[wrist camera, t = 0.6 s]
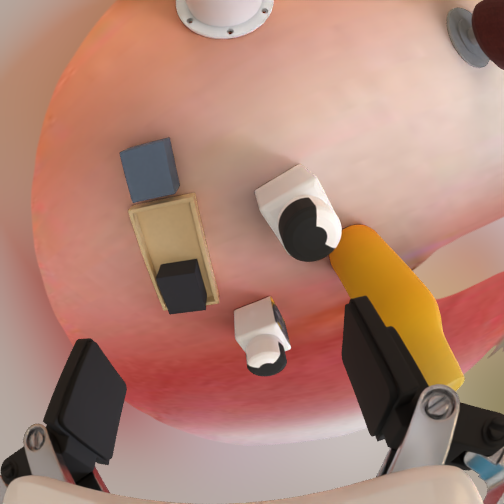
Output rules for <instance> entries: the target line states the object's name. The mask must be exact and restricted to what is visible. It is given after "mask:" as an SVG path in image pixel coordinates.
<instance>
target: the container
mask: <svg viewBox="0 0 504 504" xmlns="http://www.w3.org/2000/svg"><path fill="white" fill-rule="evenodd" d="M255 196H256V199H257V203H258V206H259V210H260V212H261V214H262V215H263V217H264V218H265V220H266V221H267V223H268V224H269V226H270V227H271V229H272V230H273V232H274V233H275V235H276V236H277V238H278V239H279V241H280V242H281V244H282V245H283V247H284V249H285V250H286V252H287V253H288V254H289V255H290V256H292V257H293V258H295V259H297V260H300V261H305V262H312V261H317V260H320V259H323V258H325V257H326V256H328V255H329V254H330V253H332V252H333V251H334V249H335V248H336V247H337V245H338V243H339V241H340V238H341V234H342V227H341V223H340V220H339V218H338V217H337V215H336V213H335V211H334V209H333V207H332V205H331V203H330V201H329V199H328V197H327V196H326V194H325V192H324V190H323V188H322V186H321V184H320V182H319V180H318V178H317V177H316V176H315V175H314V174H313V173H311V172H310V171H309V170H308V169H307V168H305V167H304V166H303V165H302V164H298V165H296V166H295V167H293V168H291V169H290V170H288V171H286V172H285V173H283V174H281V175H279V176H278V177H276V178H274V179H273V180H271V181H269V182H268V183H266V184H264V185H263V186H261V187H259V188H258V189H256V190H255Z"/></svg>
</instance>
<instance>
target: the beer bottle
mask: <svg viewBox="0 0 504 504" xmlns="http://www.w3.org/2000/svg"><path fill="white" fill-rule="evenodd" d="M329 258H330V262H331V265H332V267H333V269H334V271H335V272H336V274H337V275H338V277H339V279H340V280H341V282H342V284H343V286H344V287H345V289H346V291H347V293H348V294H349V296H350V298H351V299H353V298H357V297H361V296H367V297H368V298H369V300H370V301H371V303H372V305H373V306H374V308H375V309H376V311H377V313H378V314H379V316H380V317H381V319H382V321H383V322H384V324H385V326H386V327H389V326H392V327H394V328H395V329H396V331H397V332H398V334H399V335H400V337H401V339H402V340H403V342H404V344H405V345H406V347H407V349H408V350H409V352H410V354H411V355H412V357H413V359H414V361H415V362H416V364H417V366H418V367H419V369H420V371H421V373H422V375H423V376H424V378H425V380H426V382H427V384H428V385H429V386H431V385H436V384H443V385H446V386H449V387H451V388H452V389H453V390H455V391H456V390H457V389H458V388H459V387H460V386H461V385H462V384H463V382H464V379H465V378H464V376H463V373H462V371H461V369H460V367H459V365H458V362H457V360H456V358H455V356H454V354H453V352H452V350H451V348H450V346H449V345H448V342H447V340H446V338H445V336H444V334H443V330H442V322H441V316H440V312H439V308H438V305H437V302H436V300H435V298H434V297H433V295H432V294H431V292H430V291H429V289H428V288H427V287H426V286H425V285H424V284H423V283H422V282H421V280H420V279H419V278H418V277H417V276H416V275H415V274H414V273H413V271H412V270H411V269H410V268H409V267H408V266H407V265H406V264H405V263H404V262H403V260H402V259H401V258H400V257H399V256H398V255H397V254H396V253H395V252H394V251H393V250H392V249H391V248H390V247H389V246H388V245H387V244H386V242H385V241H384V240H383V239H382V238H381V237H380V236H379V235H378V234H377V233H376V232H375V231H374V230H373V229H371V228H370V227H367V226H365V225H352V226H349V227H346V228H344V229H343V230H342V234H341V238H340V241H339V243H338V245H337V247H336V248H335V249H334V251H333V252H332V253H330V254H329Z"/></svg>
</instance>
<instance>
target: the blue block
mask: <svg viewBox="0 0 504 504" xmlns="http://www.w3.org/2000/svg"><path fill="white" fill-rule="evenodd" d="M120 157H121V161H122V165H123V169H124V173H125V177H126V181H127V184H128V188H129V192H130V195H131V199H132V202H133V203H135V202H139V201H144V200H148V199H153V198H157V197H162V196H167V195H172V194H175V193H176V191H177V189H178V188H179V186H180V183H179V179H178V175H177V170H176V165H175V161H174V156H173V151H172V146H171V141H170V138H165V139H161V140H157V141H153V142H149V143H145V144H141V145H138V146H134V147H130V148H128V149H126V150H124V151H122V152H120Z"/></svg>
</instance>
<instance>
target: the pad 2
mask: <svg viewBox="0 0 504 504" xmlns="http://www.w3.org/2000/svg"><path fill="white" fill-rule="evenodd" d="M156 281H157V283H158V286H159V289H160V291H161V294H162V296H163V299H164V302H165V304H166V307H167V309H168V311H169V314H177V313H185V312H193V311H201V310H206V301H207V292H206V289H205V285H204V282H203V278H202V275H201V271H200V267H199V264H198V260H197V259H191V260H185V261H179V262H172V263H166V264H161V265H160V268H159V271H158V274H157V276H156Z"/></svg>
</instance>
